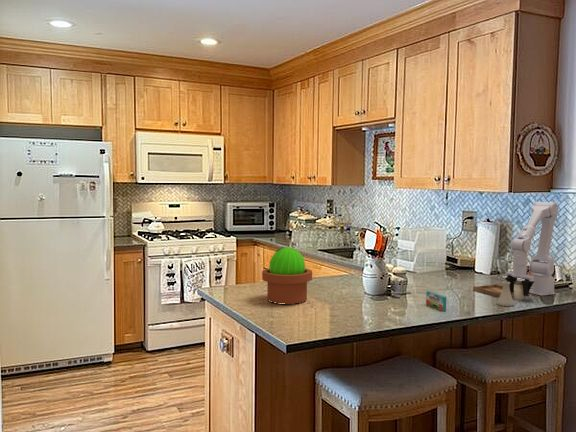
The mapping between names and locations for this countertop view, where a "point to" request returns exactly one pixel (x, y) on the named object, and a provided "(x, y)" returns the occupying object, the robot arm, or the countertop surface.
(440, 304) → the teal printed box
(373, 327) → the countertop surface
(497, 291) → the tray
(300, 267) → the potted cactus
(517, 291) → the pepper shaker
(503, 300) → the flask
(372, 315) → the countertop surface
